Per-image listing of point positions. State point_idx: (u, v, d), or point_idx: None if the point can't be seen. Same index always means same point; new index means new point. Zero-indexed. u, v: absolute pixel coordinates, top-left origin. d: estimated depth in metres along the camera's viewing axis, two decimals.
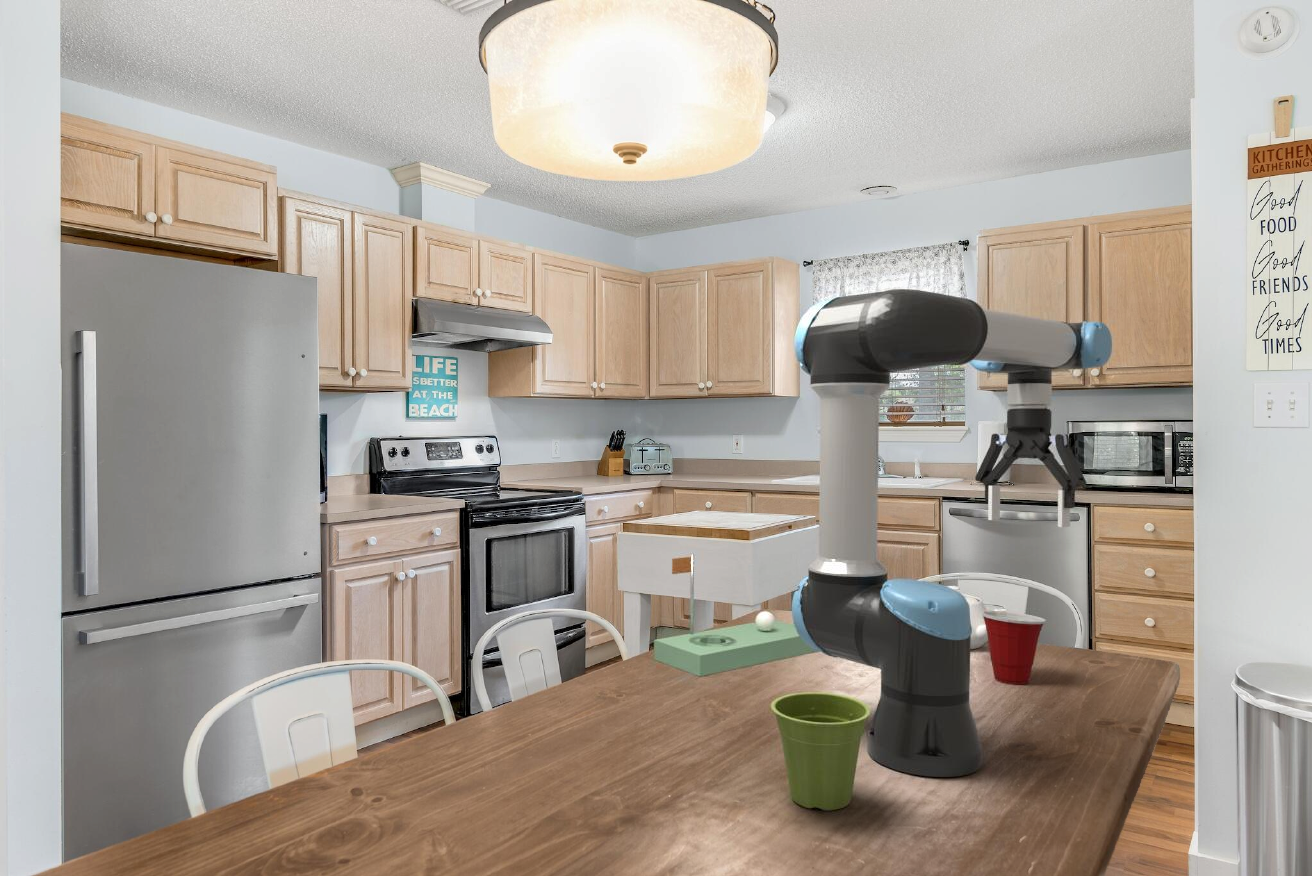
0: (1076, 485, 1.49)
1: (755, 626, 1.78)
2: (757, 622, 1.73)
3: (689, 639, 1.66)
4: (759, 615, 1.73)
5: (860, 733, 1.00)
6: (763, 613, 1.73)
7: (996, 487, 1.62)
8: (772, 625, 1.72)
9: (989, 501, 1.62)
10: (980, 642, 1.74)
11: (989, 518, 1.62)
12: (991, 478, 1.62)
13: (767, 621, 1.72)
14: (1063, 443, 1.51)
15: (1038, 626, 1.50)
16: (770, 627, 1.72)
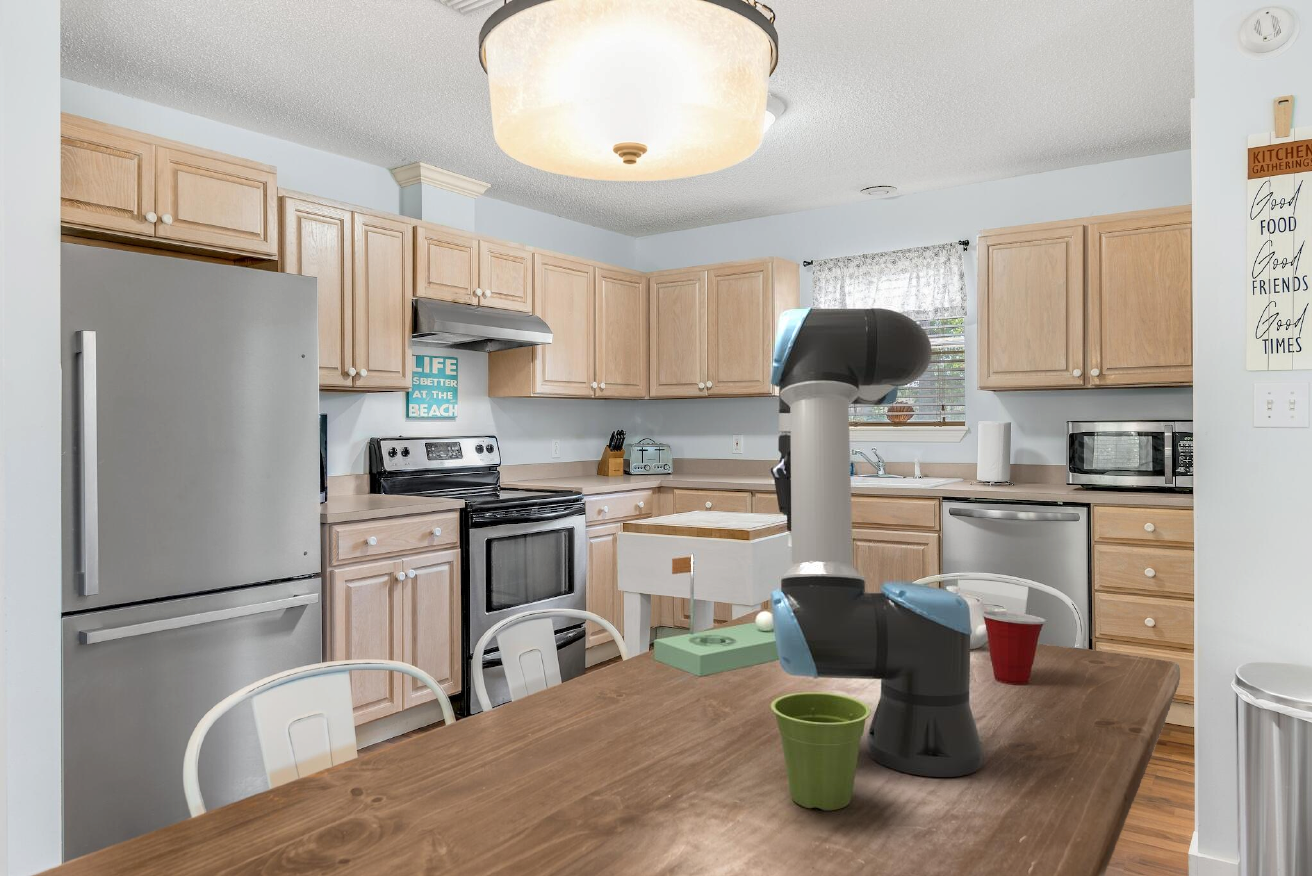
0: None
1: (755, 626, 1.78)
2: (757, 622, 1.73)
3: (689, 639, 1.66)
4: (759, 615, 1.73)
5: (860, 733, 1.00)
6: (763, 613, 1.73)
7: None
8: (772, 625, 1.72)
9: None
10: (980, 642, 1.74)
11: None
12: None
13: (767, 621, 1.72)
14: (774, 476, 1.76)
15: (1038, 626, 1.50)
16: (770, 627, 1.72)
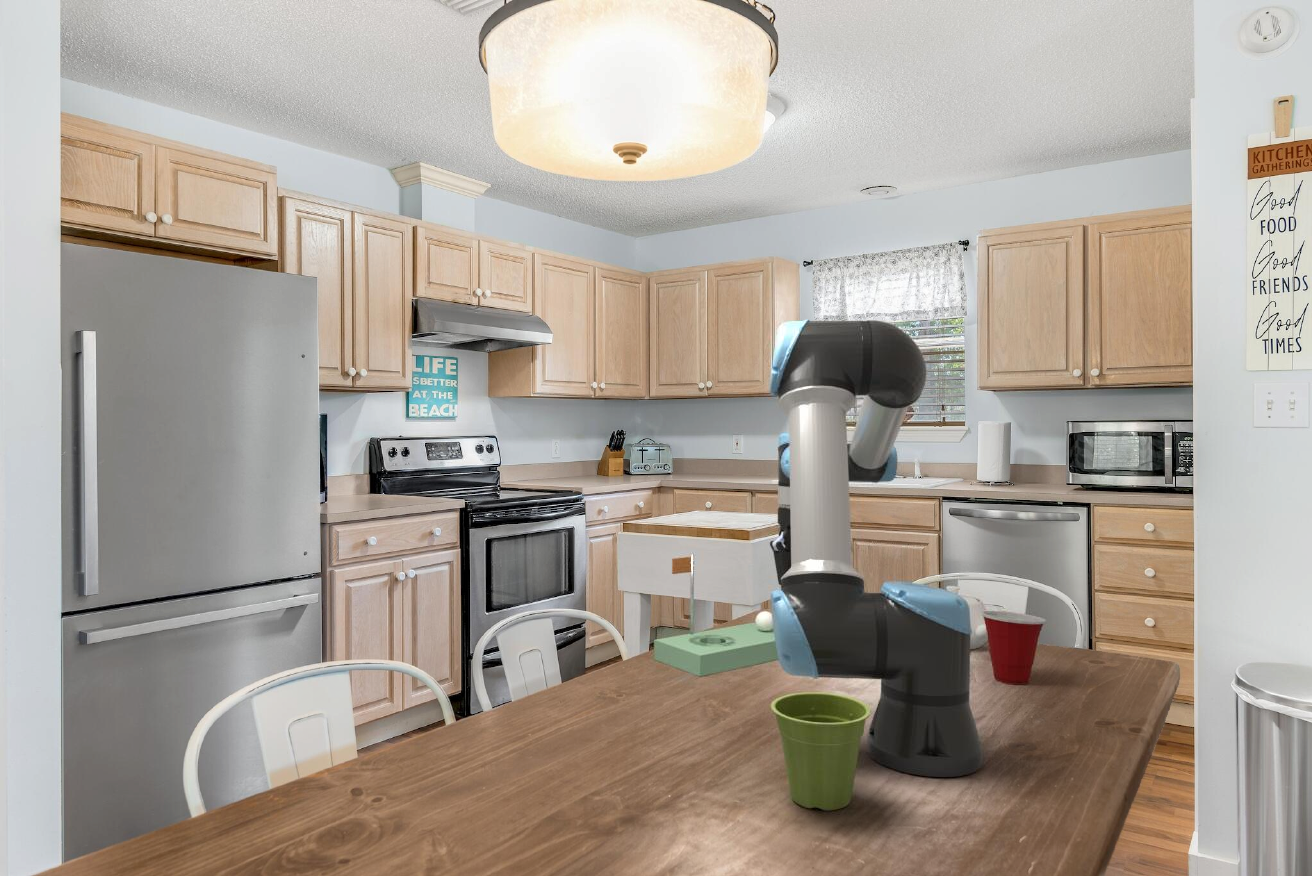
0: (780, 583, 1.78)
1: (755, 626, 1.78)
2: (757, 622, 1.73)
3: (689, 639, 1.66)
4: (759, 615, 1.73)
5: (860, 733, 1.00)
6: (763, 613, 1.73)
7: None
8: (772, 625, 1.72)
9: None
10: (980, 642, 1.74)
11: None
12: None
13: (767, 621, 1.72)
14: (773, 549, 1.76)
15: (1038, 626, 1.50)
16: (770, 627, 1.72)
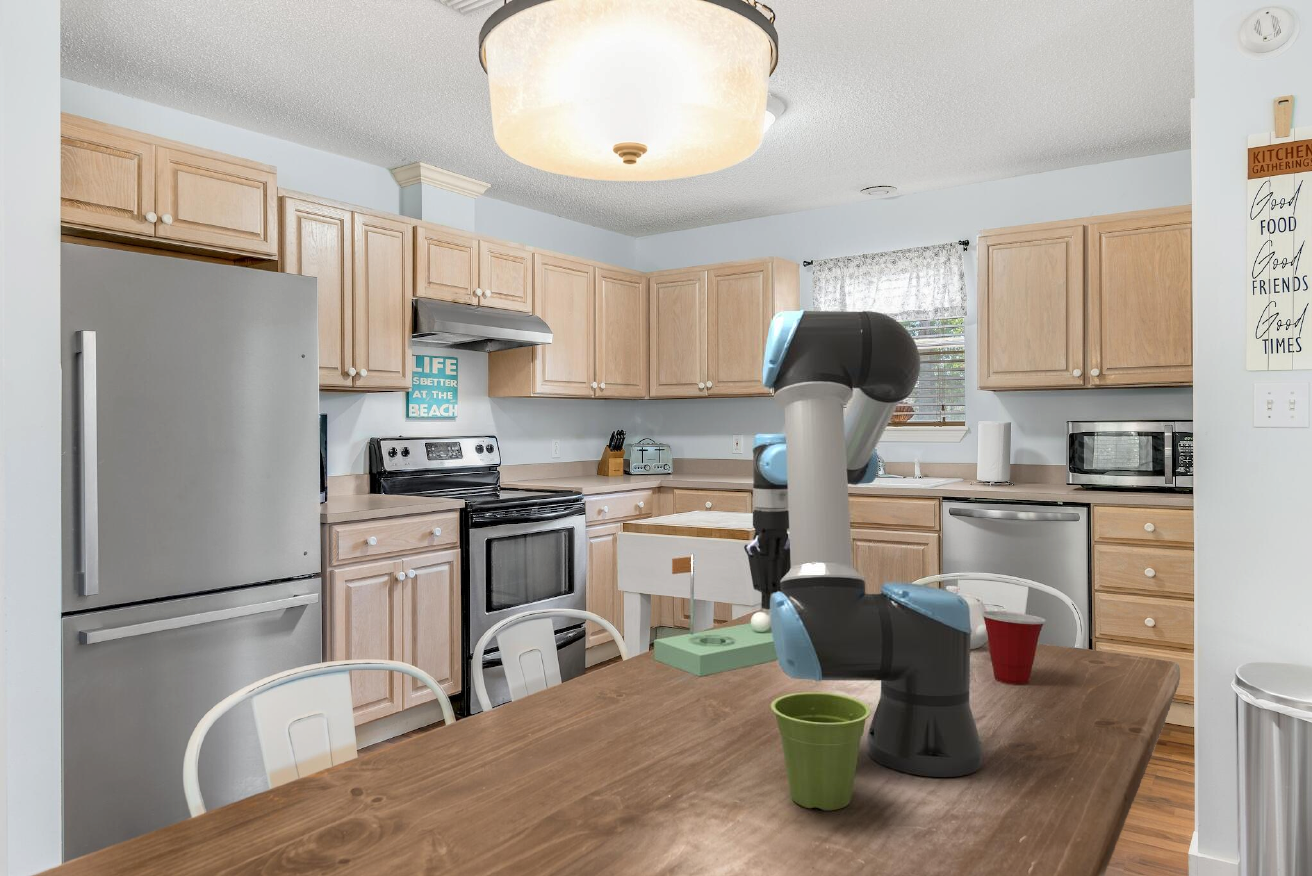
0: None
1: None
2: (753, 628, 1.72)
3: (689, 639, 1.66)
4: (752, 621, 1.72)
5: (860, 733, 1.00)
6: (755, 618, 1.72)
7: None
8: (768, 625, 1.72)
9: None
10: (980, 642, 1.74)
11: None
12: None
13: (762, 624, 1.71)
14: (748, 553, 1.72)
15: (1038, 626, 1.50)
16: (767, 627, 1.72)
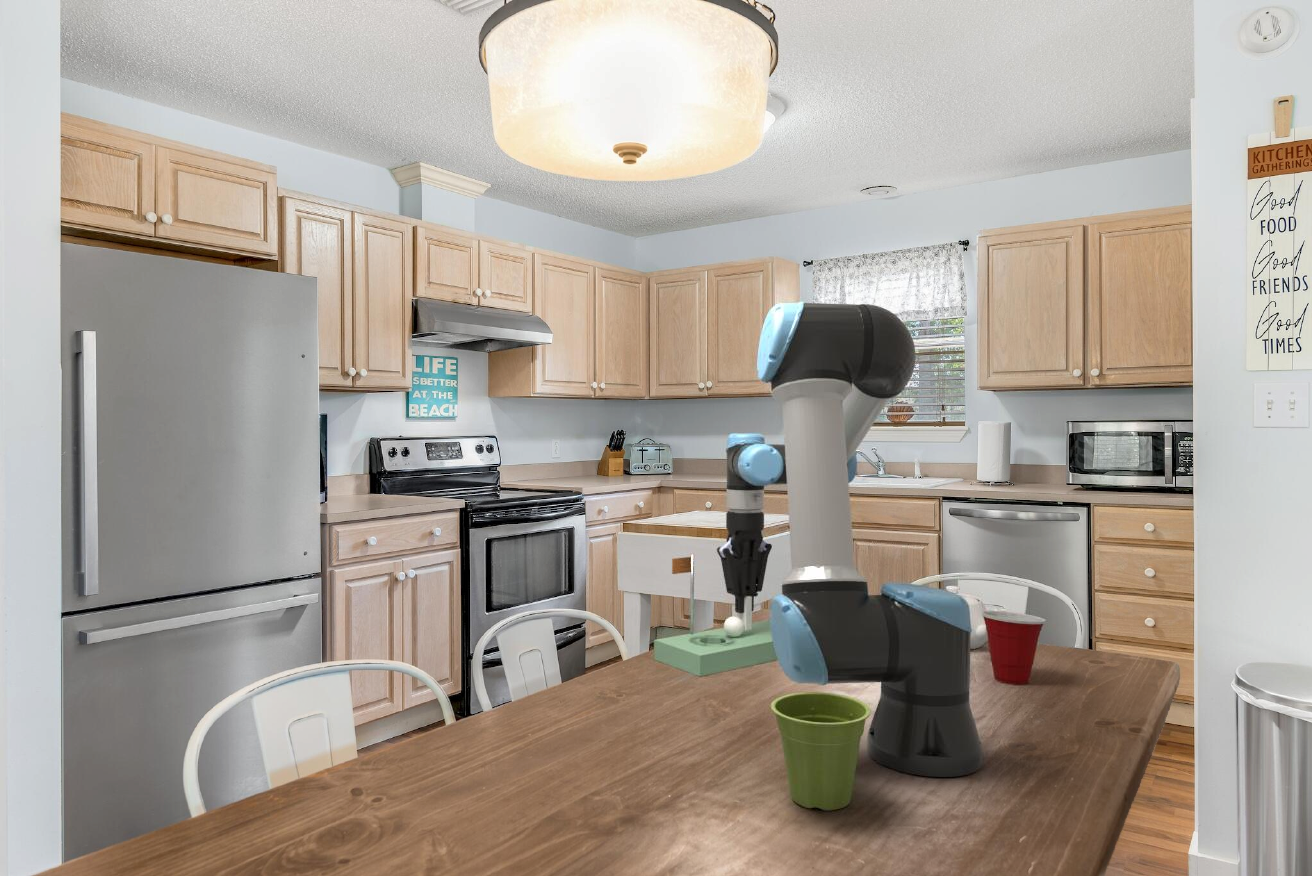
0: None
1: (755, 626, 1.78)
2: None
3: (689, 639, 1.66)
4: None
5: (860, 733, 1.00)
6: None
7: None
8: (739, 626, 1.67)
9: None
10: (980, 642, 1.74)
11: None
12: None
13: (743, 629, 1.68)
14: (721, 556, 1.67)
15: (1038, 626, 1.50)
16: (739, 623, 1.67)
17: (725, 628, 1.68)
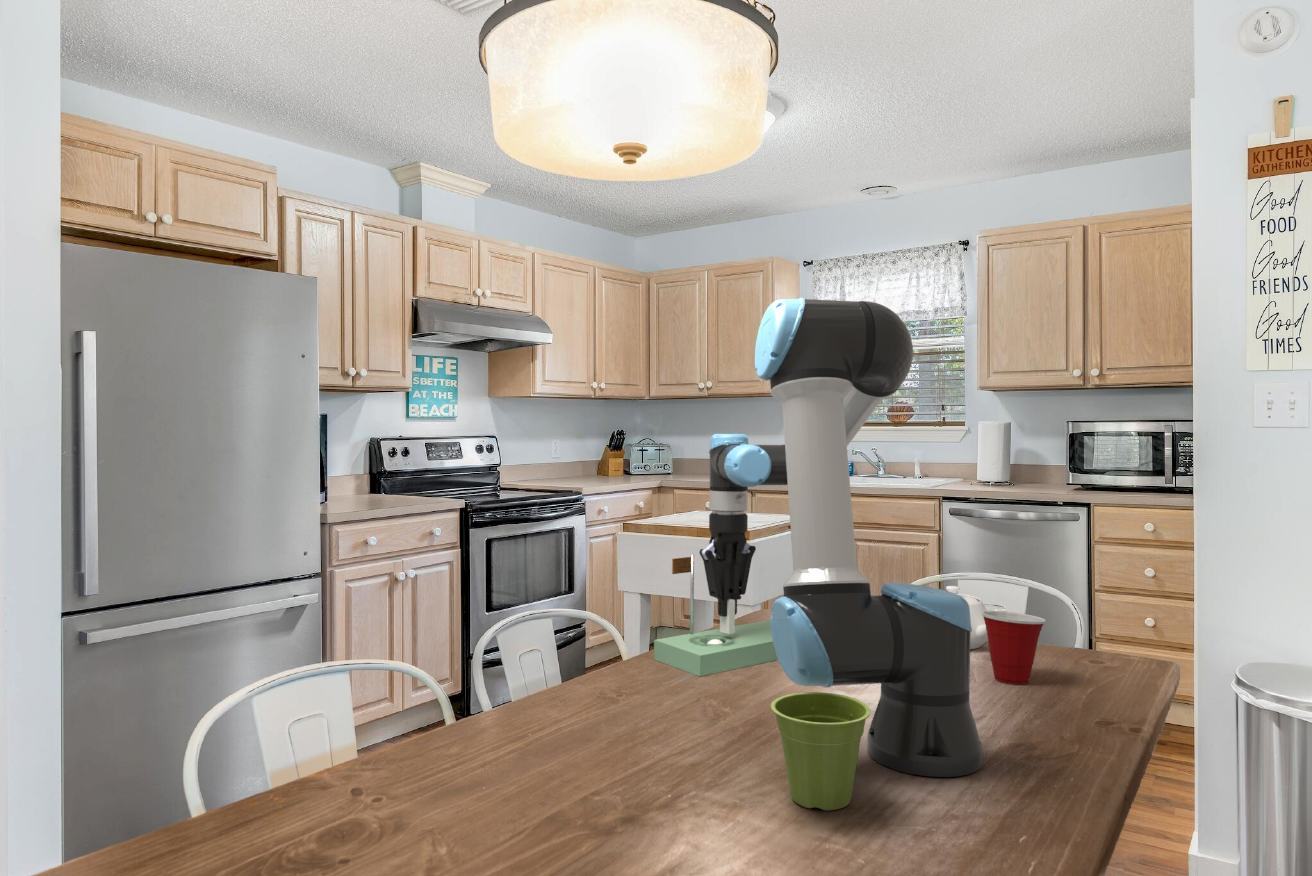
0: None
1: (755, 626, 1.78)
2: None
3: (689, 639, 1.66)
4: None
5: (860, 733, 1.00)
6: None
7: None
8: None
9: None
10: (980, 642, 1.74)
11: None
12: None
13: None
14: (703, 558, 1.65)
15: (1038, 626, 1.50)
16: None
17: None
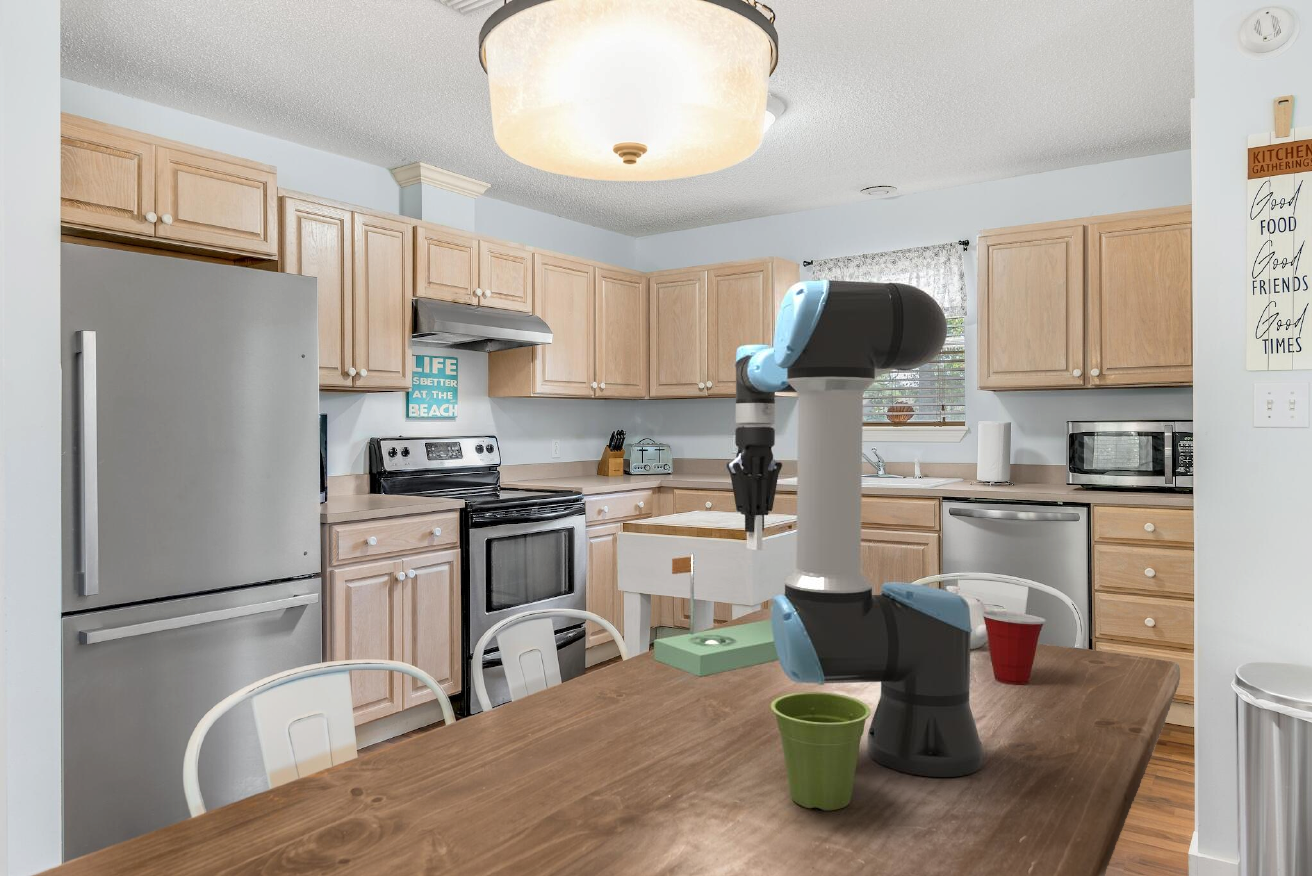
0: None
1: (755, 626, 1.78)
2: None
3: (689, 639, 1.66)
4: None
5: (860, 733, 1.00)
6: None
7: None
8: None
9: None
10: (980, 642, 1.74)
11: None
12: None
13: None
14: (731, 472, 1.61)
15: (1038, 626, 1.50)
16: None
17: None
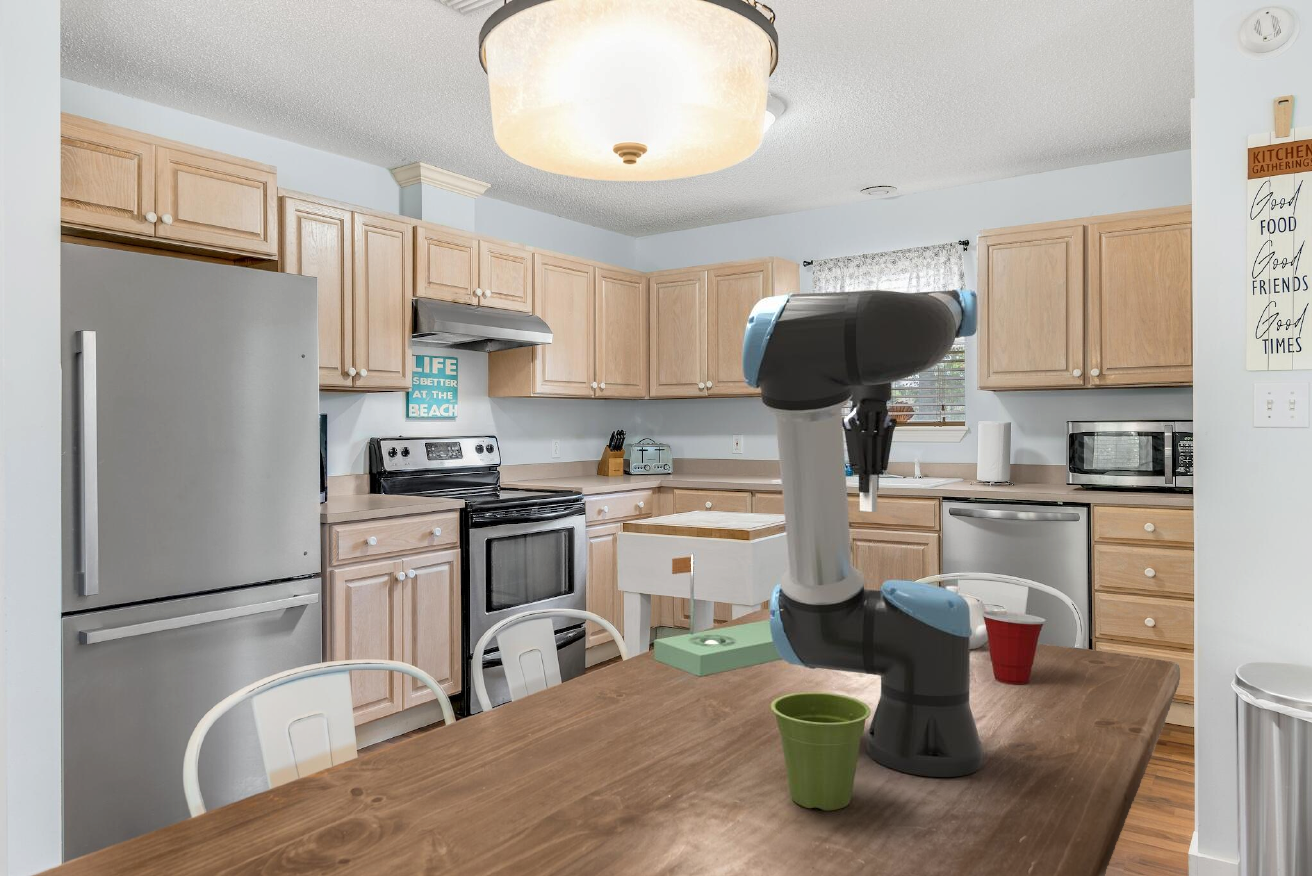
0: None
1: (755, 626, 1.78)
2: None
3: (689, 639, 1.66)
4: None
5: (860, 733, 1.00)
6: None
7: None
8: None
9: None
10: (980, 642, 1.74)
11: None
12: None
13: None
14: (845, 427, 1.50)
15: (1038, 626, 1.50)
16: None
17: None
